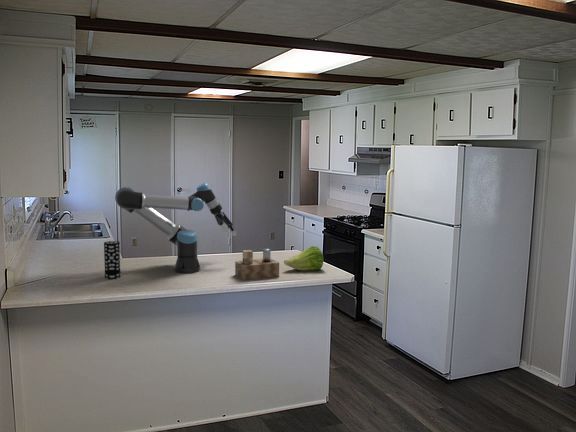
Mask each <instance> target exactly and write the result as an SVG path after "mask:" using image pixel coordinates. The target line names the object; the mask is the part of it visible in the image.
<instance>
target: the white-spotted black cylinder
mask: <svg viewBox="0 0 576 432" xmlns="http://www.w3.org/2000/svg"><path fill="white" fill-rule="evenodd" d="M120 243H121V242H120V241H119V240H109V241H104V242H103V251H104V252H103V255H104V256H103V257H104V259H103V260H104V261H103V262H104V279H106V280H118V279H120V278H122V277H121V247H120V246H121V245H120Z"/></svg>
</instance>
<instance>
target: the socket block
mask: <svg viewBox="0 0 576 432" xmlns="http://www.w3.org/2000/svg"><path fill="white" fill-rule="evenodd" d="M234 262H235V263H234V272H235V273H234V274H235V276H236V277H238V278H240V279H242V280H243V281H249V280H257V279H267V278H276V277H280V262H279V261H276V260H275V259H272V258H270V262H263V258H258V259H257V258H256V259H253V264H244V263H243V260H236V261H234Z"/></svg>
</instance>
